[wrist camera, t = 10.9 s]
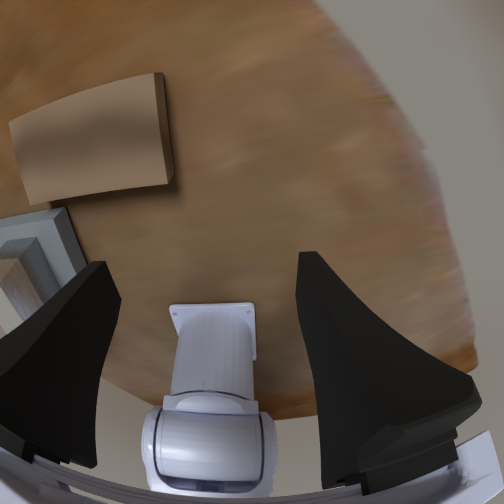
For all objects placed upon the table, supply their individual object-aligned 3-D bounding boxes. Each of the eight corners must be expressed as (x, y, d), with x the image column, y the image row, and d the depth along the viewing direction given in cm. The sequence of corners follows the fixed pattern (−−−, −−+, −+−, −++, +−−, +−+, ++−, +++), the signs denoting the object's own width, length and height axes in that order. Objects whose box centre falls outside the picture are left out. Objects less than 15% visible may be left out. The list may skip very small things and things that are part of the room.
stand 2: (174, 172, 18) (167, 183, 17) (43, 193, 18) (30, 205, 17) (162, 72, 14) (153, 72, 12) (24, 115, 14) (8, 121, 12)
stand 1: (108, 310, 26) (103, 324, 24) (42, 306, 26) (36, 319, 24) (65, 206, 19) (53, 218, 17) (-2, 219, 19) (-13, 230, 17)
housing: (36, 236, 18) (-2, 284, 13) (75, 312, 23) (53, 361, 19) (7, 240, 18) (-28, 283, 13) (44, 310, 23) (23, 354, 19)
